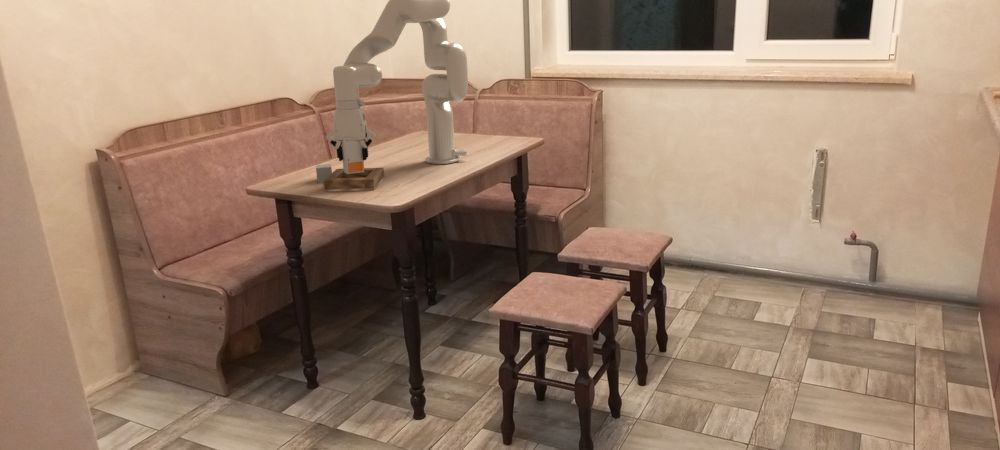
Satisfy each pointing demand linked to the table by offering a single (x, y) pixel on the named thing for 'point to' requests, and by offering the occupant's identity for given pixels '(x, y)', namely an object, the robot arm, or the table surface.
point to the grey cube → (323, 172)
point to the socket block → (354, 180)
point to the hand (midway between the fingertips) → (353, 159)
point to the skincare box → (352, 156)
